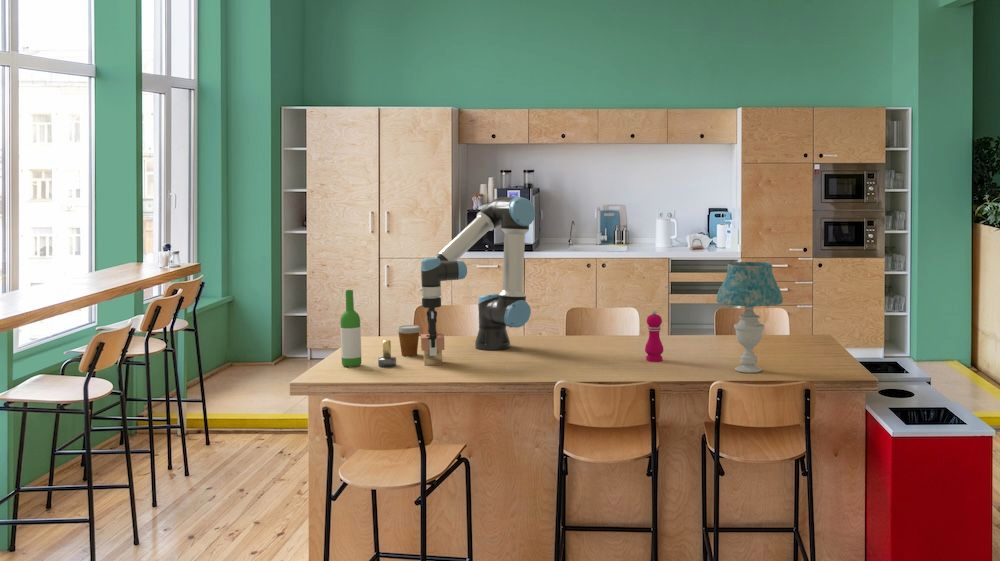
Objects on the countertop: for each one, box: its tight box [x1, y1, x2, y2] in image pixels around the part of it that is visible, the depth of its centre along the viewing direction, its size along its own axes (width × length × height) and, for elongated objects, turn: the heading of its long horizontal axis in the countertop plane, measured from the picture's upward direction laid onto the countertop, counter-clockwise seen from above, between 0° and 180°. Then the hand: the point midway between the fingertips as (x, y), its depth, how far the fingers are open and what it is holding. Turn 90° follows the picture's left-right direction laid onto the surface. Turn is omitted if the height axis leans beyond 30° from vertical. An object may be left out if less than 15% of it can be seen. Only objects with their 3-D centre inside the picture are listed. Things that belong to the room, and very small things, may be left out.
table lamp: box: [716, 261, 784, 374], centre depth 366 cm, size 24×24×40 cm
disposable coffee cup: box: [396, 324, 421, 357], centre depth 410 cm, size 10×10×12 cm
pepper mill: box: [644, 310, 664, 363], centre depth 390 cm, size 7×7×20 cm
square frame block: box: [420, 333, 445, 352], centre depth 392 cm, size 9×9×5 cm
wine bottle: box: [340, 289, 362, 368], centre depth 389 cm, size 8×8×30 cm
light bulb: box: [377, 339, 397, 369], centre depth 388 cm, size 7×7×10 cm
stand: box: [423, 350, 443, 366], centre depth 392 cm, size 7×7×6 cm
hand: (432, 353), depth 392 cm, fingers closed on square frame block, 9 cm apart
